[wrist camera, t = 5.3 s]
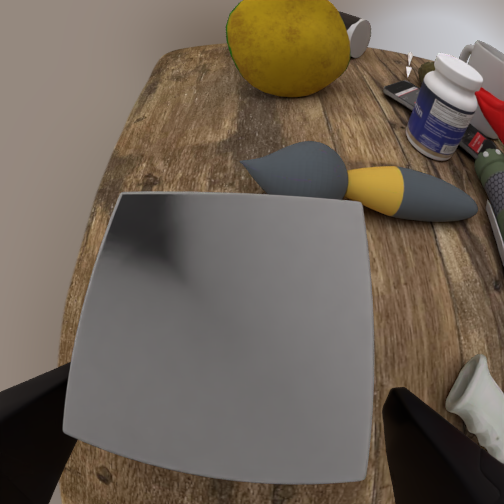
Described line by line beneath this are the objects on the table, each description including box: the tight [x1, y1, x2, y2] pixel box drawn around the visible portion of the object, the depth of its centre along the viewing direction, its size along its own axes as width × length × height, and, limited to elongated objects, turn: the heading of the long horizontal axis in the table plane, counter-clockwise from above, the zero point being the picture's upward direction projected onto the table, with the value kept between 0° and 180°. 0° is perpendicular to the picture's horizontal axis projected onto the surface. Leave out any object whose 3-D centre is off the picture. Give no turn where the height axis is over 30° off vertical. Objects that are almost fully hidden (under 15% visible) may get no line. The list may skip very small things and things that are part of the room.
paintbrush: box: [240, 141, 478, 222], centre depth 19 cm, size 20×5×5 cm, turn 90°
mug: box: [459, 40, 504, 139], centre depth 24 cm, size 12×8×11 cm
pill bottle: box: [406, 53, 483, 161], centre depth 20 cm, size 6×6×10 cm
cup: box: [338, 11, 371, 58], centre depth 34 cm, size 7×7×15 cm
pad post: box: [63, 192, 374, 484], centre depth 10 cm, size 5×5×13 cm
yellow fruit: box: [226, 0, 351, 97], centre depth 27 cm, size 14×13×15 cm
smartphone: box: [383, 80, 496, 159], centre depth 26 cm, size 7×1×15 cm
